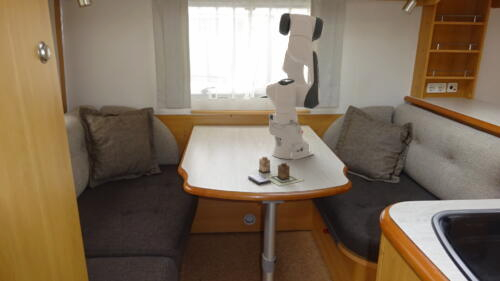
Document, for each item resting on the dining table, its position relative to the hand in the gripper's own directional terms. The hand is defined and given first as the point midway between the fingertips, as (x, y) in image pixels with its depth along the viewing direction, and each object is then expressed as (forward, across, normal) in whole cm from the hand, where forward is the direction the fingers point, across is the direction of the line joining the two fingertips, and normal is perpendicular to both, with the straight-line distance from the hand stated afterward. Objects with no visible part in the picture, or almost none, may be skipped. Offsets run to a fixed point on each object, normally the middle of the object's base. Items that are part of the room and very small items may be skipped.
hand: (284, 149), depth 159 cm
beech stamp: (+14, +11, +4) cm, 18 cm away
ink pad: (+13, +3, +11) cm, 18 cm away
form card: (+14, -1, +1) cm, 14 cm away
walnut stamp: (+13, -1, +1) cm, 13 cm away
